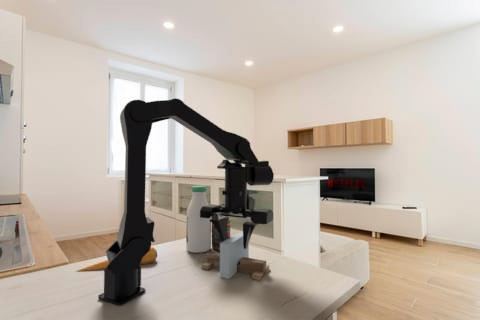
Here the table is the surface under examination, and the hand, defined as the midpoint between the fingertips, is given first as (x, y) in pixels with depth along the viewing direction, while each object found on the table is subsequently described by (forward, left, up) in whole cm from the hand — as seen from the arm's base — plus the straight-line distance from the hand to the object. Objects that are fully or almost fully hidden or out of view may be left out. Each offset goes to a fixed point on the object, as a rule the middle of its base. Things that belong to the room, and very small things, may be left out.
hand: (235, 247), depth 67 cm
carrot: (-11, +29, -6) cm, 32 cm away
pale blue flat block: (0, 0, -6) cm, 6 cm away
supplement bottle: (+13, +11, -6) cm, 19 cm away
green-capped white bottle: (+9, +17, -6) cm, 20 cm away
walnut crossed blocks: (0, 0, -6) cm, 6 cm away
